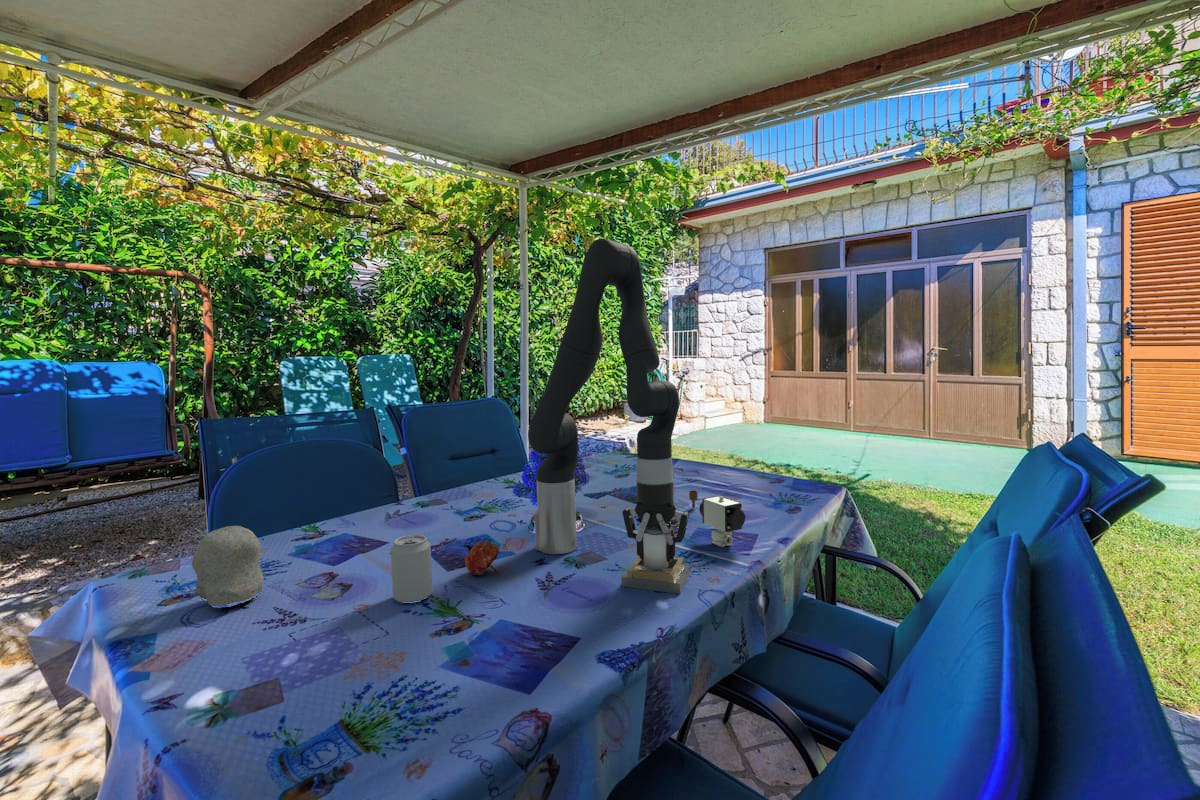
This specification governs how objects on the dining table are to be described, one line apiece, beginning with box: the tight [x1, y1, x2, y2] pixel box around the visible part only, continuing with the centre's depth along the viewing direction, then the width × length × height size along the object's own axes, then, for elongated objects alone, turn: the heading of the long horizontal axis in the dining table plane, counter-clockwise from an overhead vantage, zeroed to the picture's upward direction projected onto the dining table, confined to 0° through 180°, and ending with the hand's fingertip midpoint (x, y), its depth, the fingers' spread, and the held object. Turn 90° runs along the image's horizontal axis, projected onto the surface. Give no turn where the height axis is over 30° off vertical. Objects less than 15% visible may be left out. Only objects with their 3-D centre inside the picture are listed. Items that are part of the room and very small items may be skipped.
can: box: [389, 534, 434, 602], centre depth 112 cm, size 8×8×12 cm
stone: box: [191, 525, 264, 606], centre depth 111 cm, size 11×11×15 cm
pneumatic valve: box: [698, 495, 746, 549], centre depth 138 cm, size 6×12×12 cm, turn 29°
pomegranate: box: [463, 540, 501, 576], centre depth 124 cm, size 7×7×10 cm
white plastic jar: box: [643, 527, 669, 570], centre depth 117 cm, size 5×5×8 cm
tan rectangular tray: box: [621, 556, 691, 595], centre depth 117 cm, size 12×10×4 cm
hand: (656, 558), depth 117 cm, fingers closed on white plastic jar, 5 cm apart
